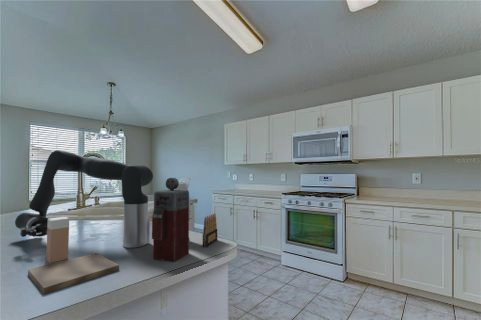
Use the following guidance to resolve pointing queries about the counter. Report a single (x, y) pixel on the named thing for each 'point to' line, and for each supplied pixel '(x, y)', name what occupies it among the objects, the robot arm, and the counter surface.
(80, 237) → the counter surface
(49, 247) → the block
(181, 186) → the skyscraper
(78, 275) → the board
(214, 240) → the ammunition clip
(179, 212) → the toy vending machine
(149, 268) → the counter surface
